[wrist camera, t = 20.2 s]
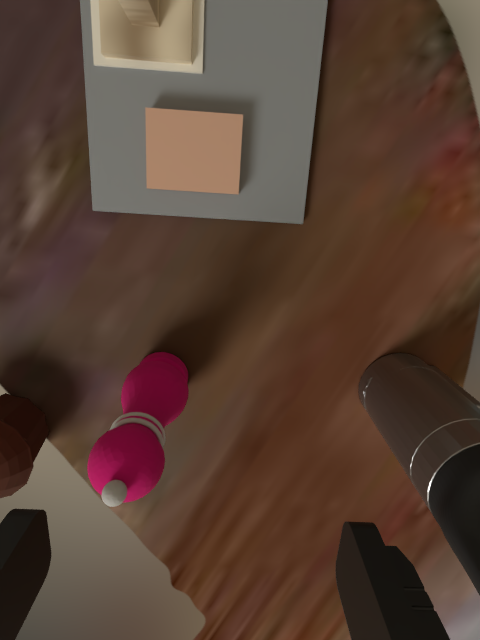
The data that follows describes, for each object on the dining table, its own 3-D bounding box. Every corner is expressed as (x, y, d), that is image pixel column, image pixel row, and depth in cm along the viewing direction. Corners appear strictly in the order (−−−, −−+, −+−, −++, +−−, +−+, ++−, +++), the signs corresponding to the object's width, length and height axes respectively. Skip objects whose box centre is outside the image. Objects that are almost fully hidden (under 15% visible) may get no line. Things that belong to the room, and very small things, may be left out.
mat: (332, -57, 32) (335, -65, 31) (301, 223, 39) (303, 223, 38) (79, -80, 31) (74, -89, 30) (96, 210, 39) (92, 210, 38)
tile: (149, 111, 35) (242, 118, 35) (150, 188, 37) (238, 194, 37) (145, 107, 33) (243, 114, 34) (146, 188, 36) (238, 194, 36)
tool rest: (206, -62, 31) (205, -65, 31) (202, 73, 34) (202, 72, 34) (87, -73, 31) (86, -75, 30) (94, 65, 34) (93, 64, 33)
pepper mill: (166, 411, 46) (120, 556, 27) (121, 376, 45) (38, 505, 26) (204, 373, 45) (182, 499, 26) (158, 336, 43) (99, 441, 24)
